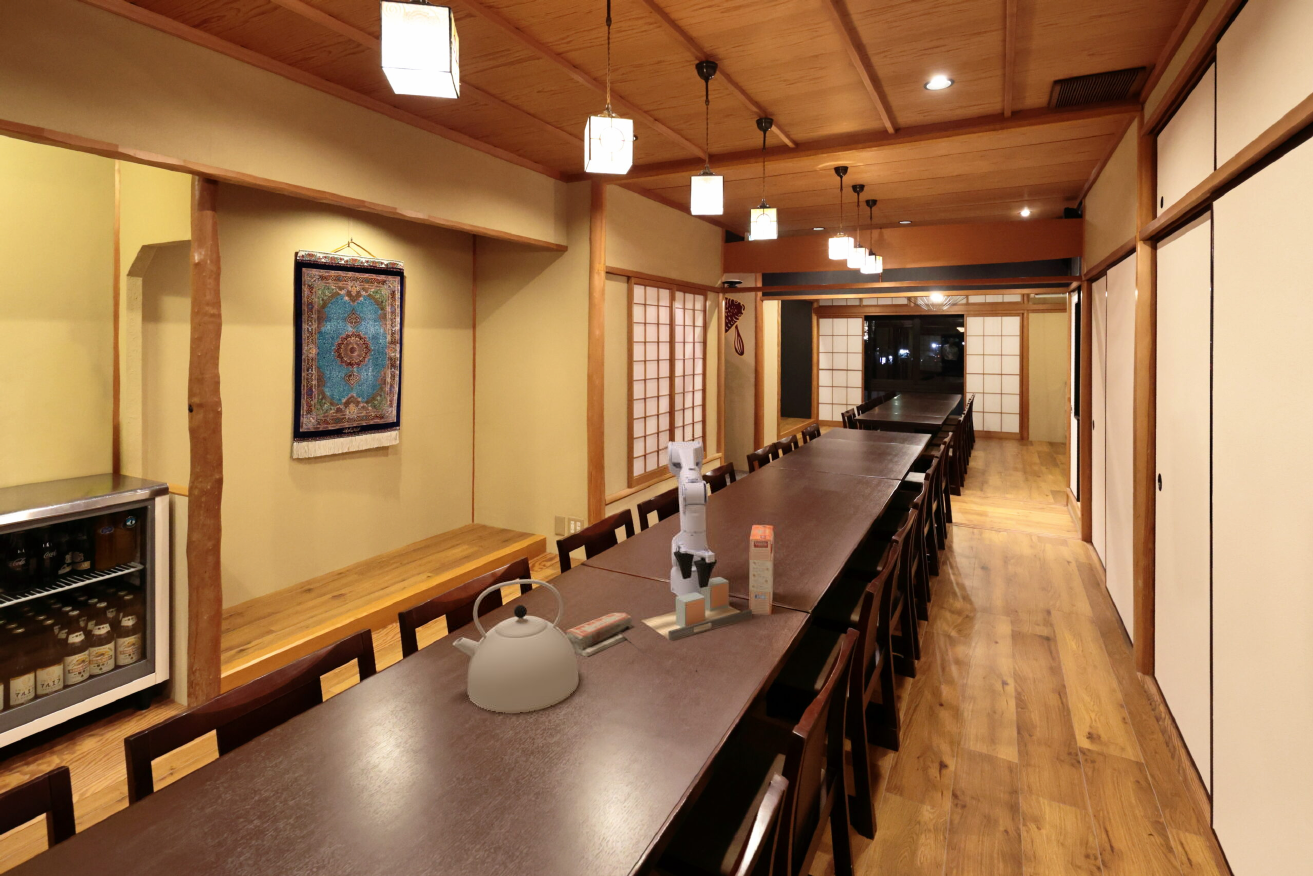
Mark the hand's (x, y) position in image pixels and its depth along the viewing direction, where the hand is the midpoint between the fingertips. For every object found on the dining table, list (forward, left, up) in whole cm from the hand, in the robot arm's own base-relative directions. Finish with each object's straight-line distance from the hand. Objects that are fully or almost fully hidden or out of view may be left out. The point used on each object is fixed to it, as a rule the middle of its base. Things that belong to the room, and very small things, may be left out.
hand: (695, 582), depth 169 cm
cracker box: (+3, +19, -10) cm, 22 cm away
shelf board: (+2, -1, -10) cm, 10 cm away
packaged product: (-3, -25, -11) cm, 27 cm away
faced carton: (-2, +7, -9) cm, 12 cm away
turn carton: (+4, -4, -9) cm, 10 cm away
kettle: (+7, -49, -10) cm, 51 cm away
